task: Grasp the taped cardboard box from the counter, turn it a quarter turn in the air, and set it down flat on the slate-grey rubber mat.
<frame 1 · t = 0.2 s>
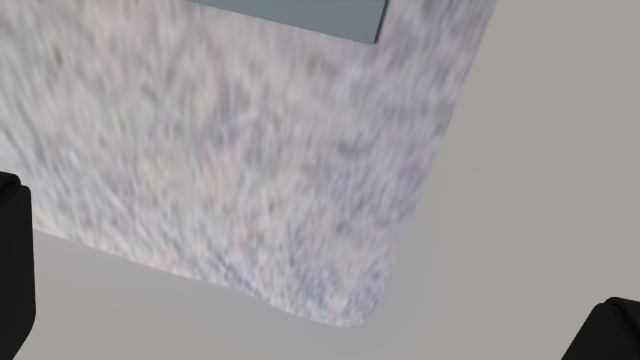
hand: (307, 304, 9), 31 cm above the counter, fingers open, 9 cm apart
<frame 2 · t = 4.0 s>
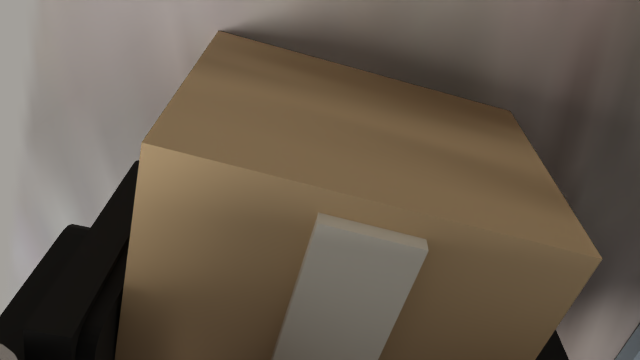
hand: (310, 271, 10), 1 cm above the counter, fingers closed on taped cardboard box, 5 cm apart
taped cardboard box: (313, 237, 11), on the counter, touching gripper
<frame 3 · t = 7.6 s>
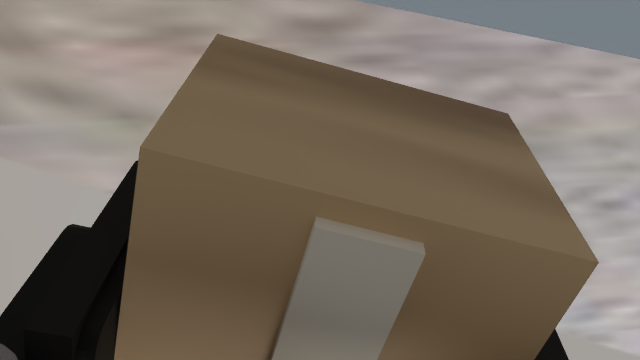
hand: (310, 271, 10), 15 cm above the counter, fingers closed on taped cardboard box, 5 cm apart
taped cardboard box: (312, 239, 11), point 14 cm above the counter, touching gripper
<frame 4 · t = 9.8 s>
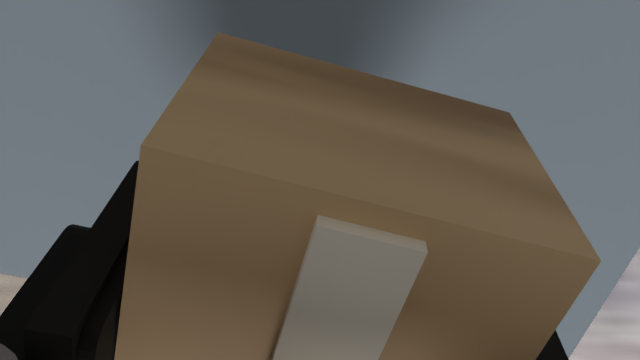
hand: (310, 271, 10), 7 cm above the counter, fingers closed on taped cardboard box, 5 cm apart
taped cardboard box: (313, 239, 11), point 6 cm above the counter, touching gripper
mat: (310, 109, 16), on the counter
when the fingers open (2 cm above the counter, at t = 11.5 s): taped cardboard box stays where it is, resting on mat.
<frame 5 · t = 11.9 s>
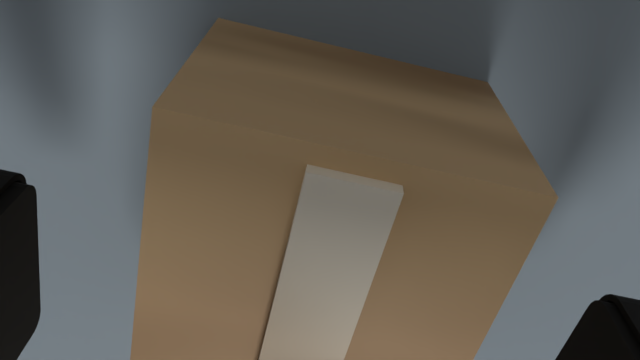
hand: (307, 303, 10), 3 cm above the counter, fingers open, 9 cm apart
taped cardboard box: (313, 208, 12), resting on mat
mat: (316, 199, 12), on the counter
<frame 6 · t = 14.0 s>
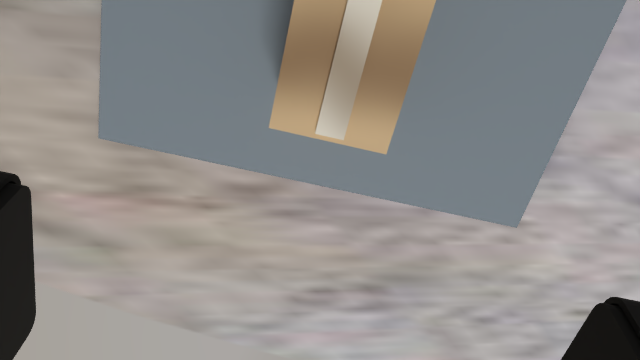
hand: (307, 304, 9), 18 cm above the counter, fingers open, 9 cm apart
taped cardboard box: (349, 32, 25), resting on mat
mat: (350, 30, 26), on the counter
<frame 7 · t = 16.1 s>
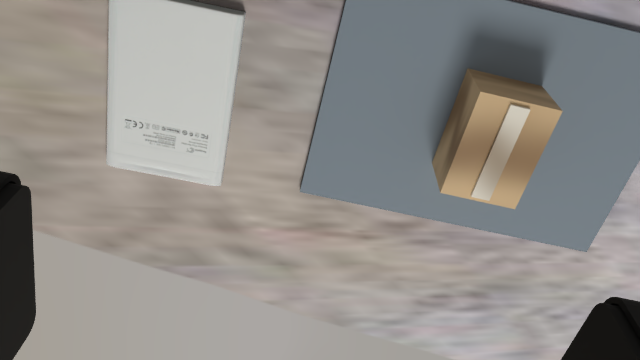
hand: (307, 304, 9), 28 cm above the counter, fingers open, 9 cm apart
taped cardboard box: (484, 125, 38), resting on mat
mat: (484, 123, 38), on the counter
external hard drive: (175, 86, 39), on the counter
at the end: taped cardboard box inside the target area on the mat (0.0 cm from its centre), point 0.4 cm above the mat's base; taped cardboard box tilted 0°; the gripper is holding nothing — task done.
